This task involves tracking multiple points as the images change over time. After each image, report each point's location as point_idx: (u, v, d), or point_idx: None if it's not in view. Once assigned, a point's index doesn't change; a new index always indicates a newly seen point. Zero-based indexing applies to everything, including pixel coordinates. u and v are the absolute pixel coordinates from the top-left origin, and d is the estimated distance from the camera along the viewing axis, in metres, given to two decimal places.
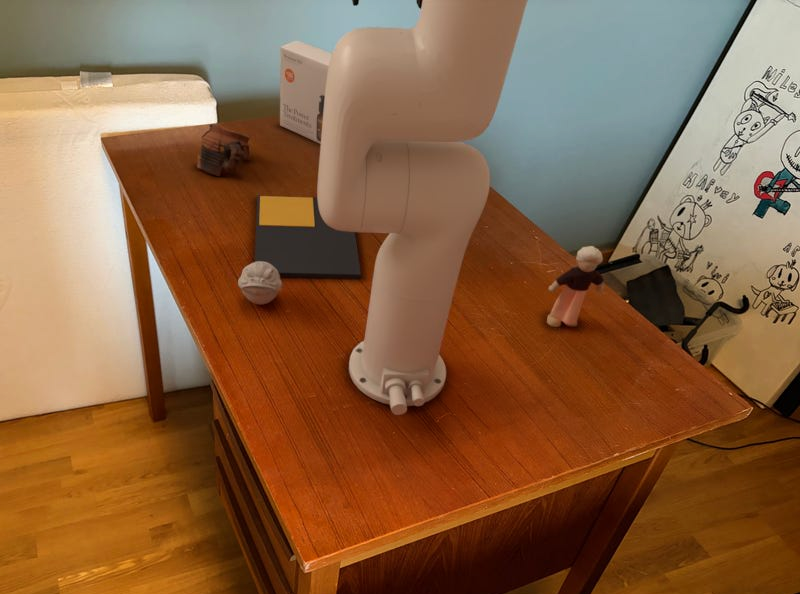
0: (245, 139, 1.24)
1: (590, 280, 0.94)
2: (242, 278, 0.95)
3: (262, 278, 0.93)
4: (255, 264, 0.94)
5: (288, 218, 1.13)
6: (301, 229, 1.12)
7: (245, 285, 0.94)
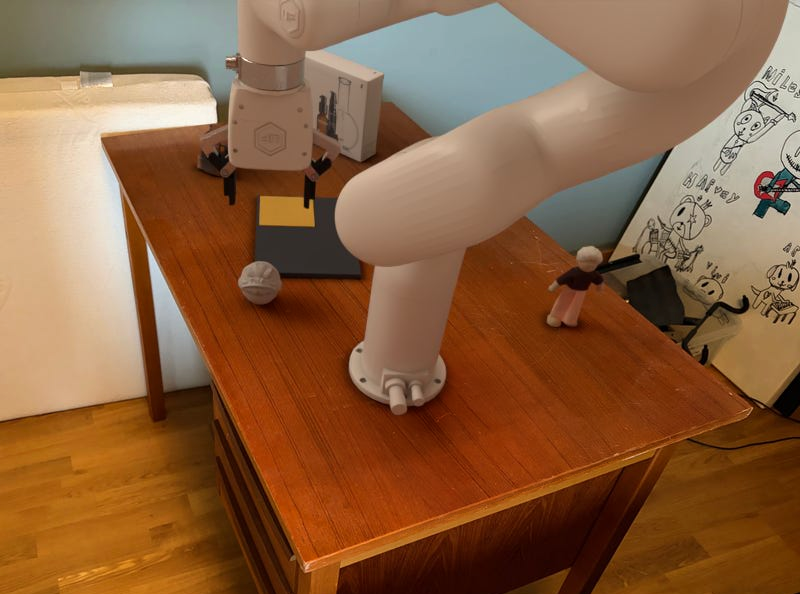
0: None
1: (590, 280, 0.94)
2: (242, 278, 0.95)
3: (262, 278, 0.93)
4: (255, 264, 0.94)
5: (288, 218, 1.13)
6: (301, 229, 1.12)
7: (245, 285, 0.94)
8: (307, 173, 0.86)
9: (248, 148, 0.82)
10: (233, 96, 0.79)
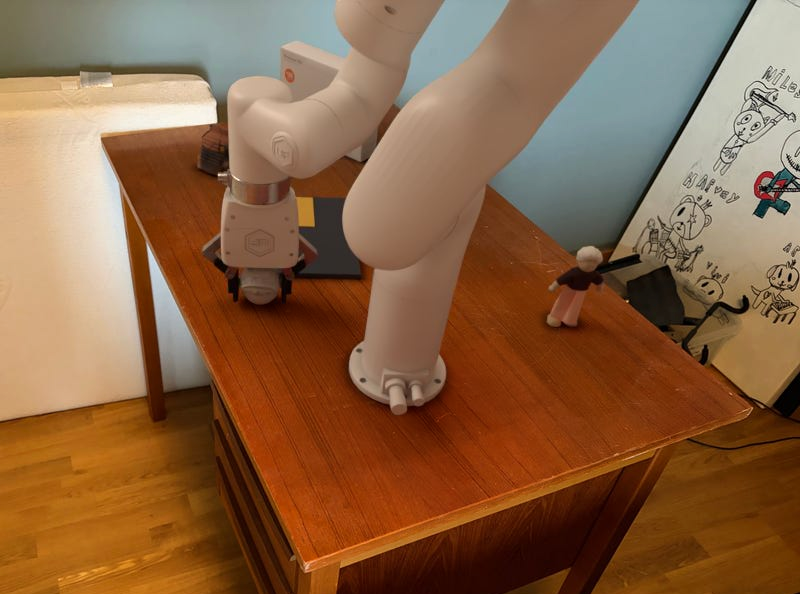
0: None
1: (590, 280, 0.94)
2: (242, 278, 0.95)
3: (262, 278, 0.93)
4: None
5: None
6: (301, 229, 1.12)
7: (245, 285, 0.94)
8: (283, 274, 0.94)
9: (239, 251, 0.90)
10: (225, 207, 0.86)
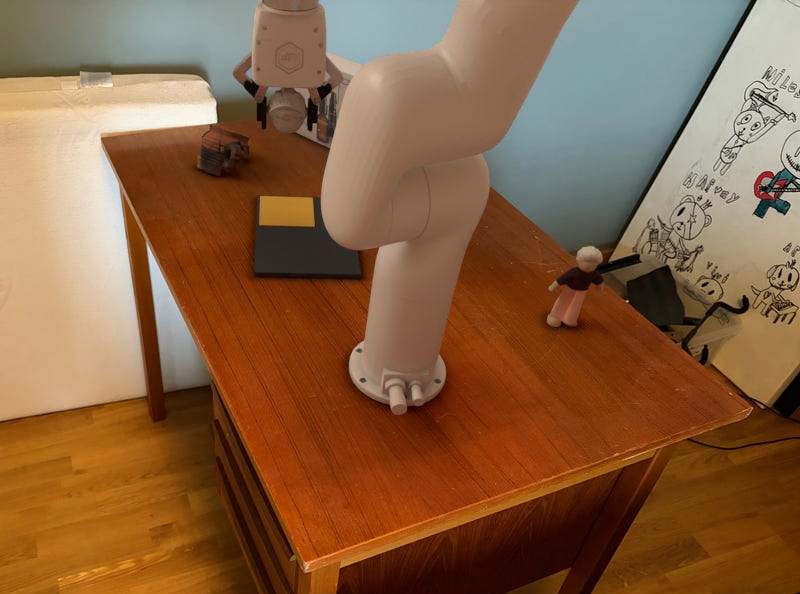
0: (245, 139, 1.24)
1: (590, 280, 0.94)
2: (270, 102, 0.99)
3: (290, 99, 0.97)
4: None
5: (288, 218, 1.13)
6: (301, 229, 1.12)
7: (274, 107, 0.98)
8: (310, 97, 0.98)
9: (270, 67, 0.94)
10: (257, 18, 0.90)
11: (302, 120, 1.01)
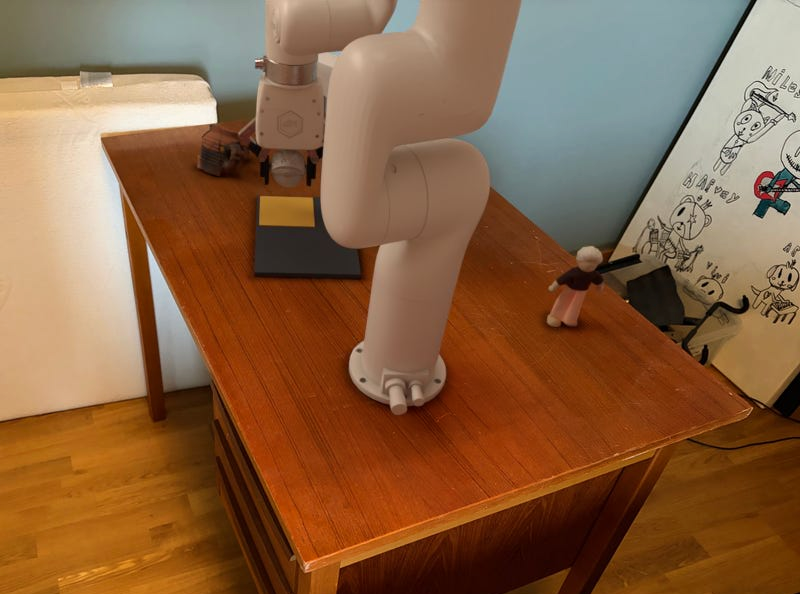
0: None
1: (590, 280, 0.94)
2: (273, 161, 1.08)
3: (291, 159, 1.06)
4: None
5: (288, 218, 1.13)
6: (301, 229, 1.12)
7: (276, 166, 1.07)
8: (309, 157, 1.07)
9: (272, 132, 1.03)
10: (260, 90, 0.99)
11: (302, 176, 1.10)
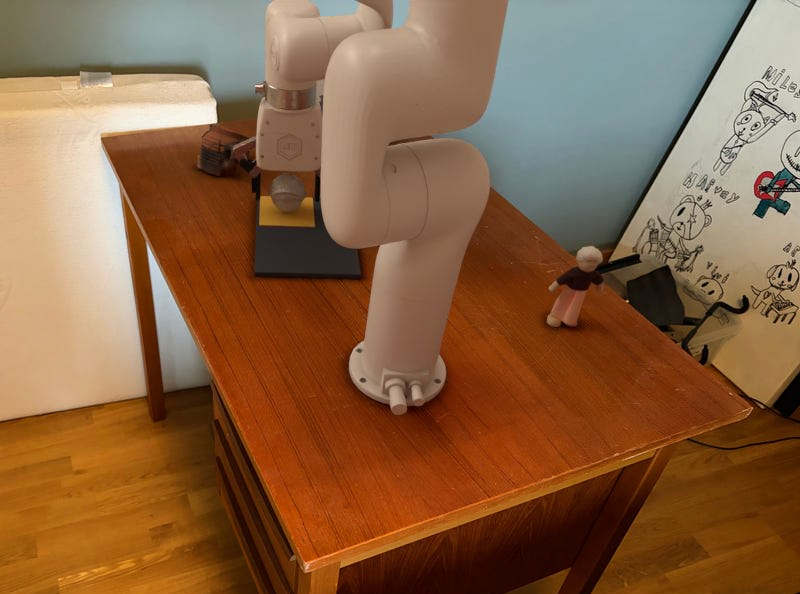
0: (245, 139, 1.24)
1: (590, 280, 0.94)
2: (272, 187, 1.11)
3: (290, 186, 1.09)
4: (284, 174, 1.10)
5: (288, 218, 1.13)
6: (301, 229, 1.12)
7: (275, 192, 1.10)
8: (318, 173, 1.09)
9: (272, 154, 1.05)
10: (260, 114, 1.01)
11: (301, 201, 1.13)
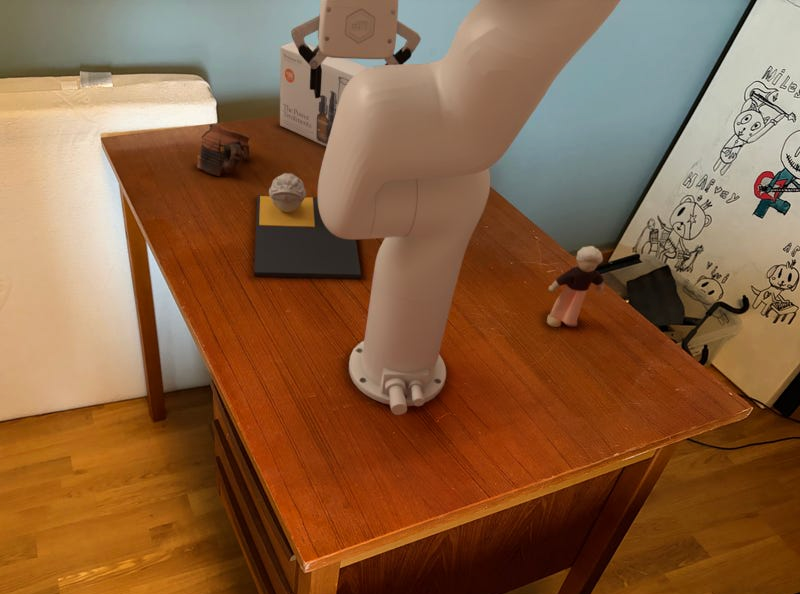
0: (245, 139, 1.24)
1: (590, 280, 0.94)
2: (272, 187, 1.11)
3: (290, 186, 1.09)
4: (284, 174, 1.10)
5: (288, 218, 1.13)
6: (301, 229, 1.12)
7: (275, 192, 1.10)
8: (389, 63, 0.94)
9: (339, 36, 0.89)
10: None
11: (301, 201, 1.13)
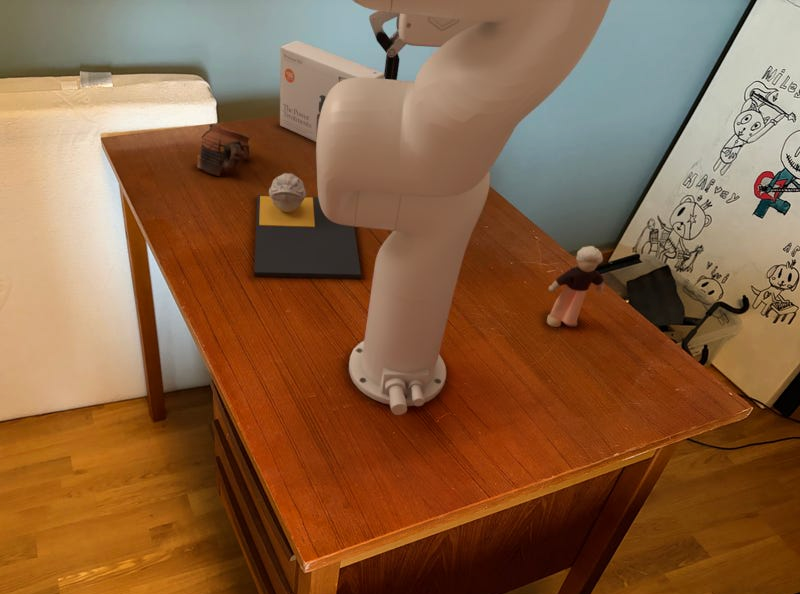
0: (245, 139, 1.24)
1: (590, 280, 0.94)
2: (272, 187, 1.11)
3: (290, 186, 1.09)
4: (284, 174, 1.10)
5: (288, 218, 1.13)
6: (301, 229, 1.12)
7: (275, 192, 1.10)
8: None
9: (421, 22, 0.84)
10: None
11: (301, 201, 1.13)
